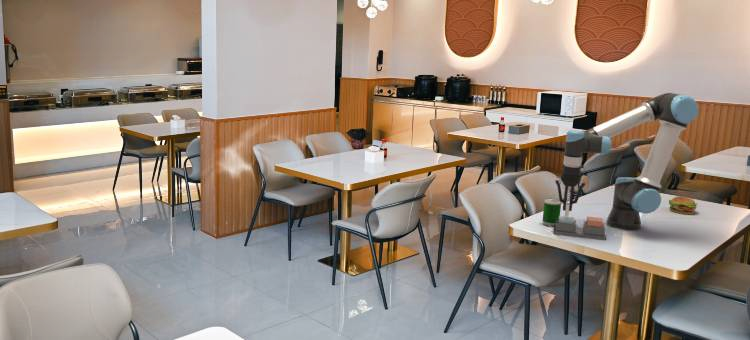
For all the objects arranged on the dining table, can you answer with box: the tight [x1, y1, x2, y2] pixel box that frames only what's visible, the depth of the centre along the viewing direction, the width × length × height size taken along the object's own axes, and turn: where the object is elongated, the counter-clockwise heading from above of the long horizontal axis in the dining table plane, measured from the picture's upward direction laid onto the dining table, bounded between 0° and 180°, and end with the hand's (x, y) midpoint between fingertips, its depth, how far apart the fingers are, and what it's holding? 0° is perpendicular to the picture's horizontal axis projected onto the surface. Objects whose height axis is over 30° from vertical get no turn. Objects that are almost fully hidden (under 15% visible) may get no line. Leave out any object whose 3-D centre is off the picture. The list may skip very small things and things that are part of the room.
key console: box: [552, 218, 607, 241], centre depth 295 cm, size 22×11×5 cm, turn 75°
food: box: [668, 195, 698, 215], centre depth 346 cm, size 14×14×8 cm
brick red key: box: [585, 216, 604, 227], centre depth 293 cm, size 6×6×3 cm
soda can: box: [541, 197, 562, 227], centre depth 307 cm, size 8×8×12 cm
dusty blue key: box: [558, 215, 575, 224], centre depth 296 cm, size 6×6×3 cm
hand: (566, 217), depth 295 cm, fingers closed
